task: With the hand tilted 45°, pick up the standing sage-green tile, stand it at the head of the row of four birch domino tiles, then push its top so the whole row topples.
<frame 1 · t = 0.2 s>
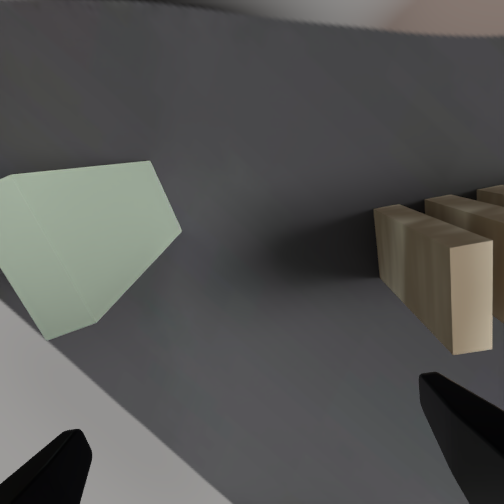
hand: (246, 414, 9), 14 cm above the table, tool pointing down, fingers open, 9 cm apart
head tile: (153, 202, 22), on the table
tile 1: (389, 242, 22), on the table
tile 2: (438, 233, 22), on the table
tile 3: (489, 224, 22), on the table
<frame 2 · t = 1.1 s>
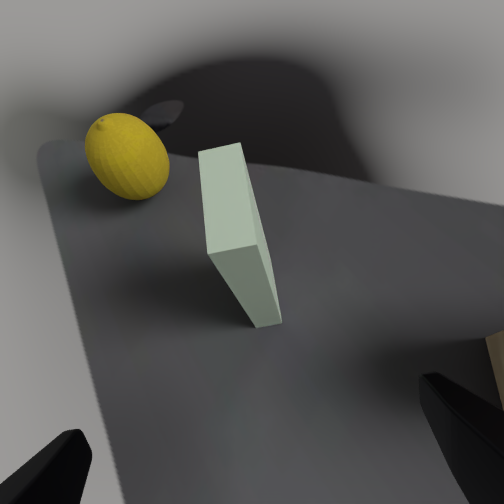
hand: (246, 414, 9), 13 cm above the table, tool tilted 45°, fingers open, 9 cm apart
head tile: (263, 292, 24), on the table
lemon: (153, 191, 30), on the table
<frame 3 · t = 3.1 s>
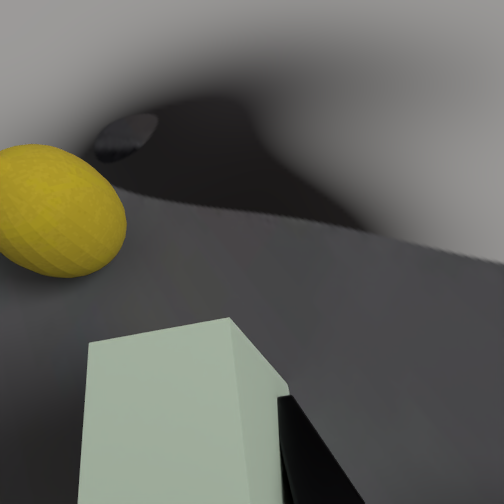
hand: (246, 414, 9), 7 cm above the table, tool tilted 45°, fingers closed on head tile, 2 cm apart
head tile: (277, 449, 14), on the table, touching gripper
lemon: (107, 252, 20), on the table
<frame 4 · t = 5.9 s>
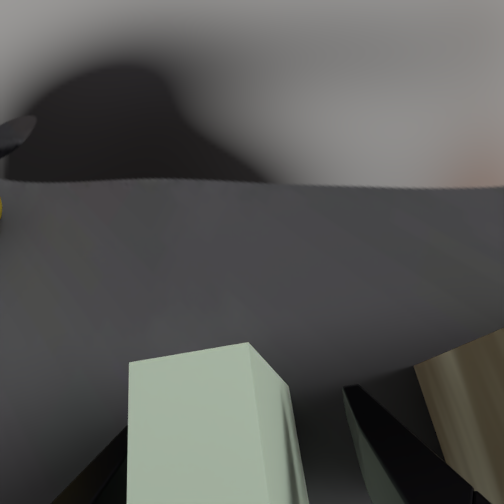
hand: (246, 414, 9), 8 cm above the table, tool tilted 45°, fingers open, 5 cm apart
head tile: (278, 447, 15), on the table
tile 1: (452, 420, 14), on the table
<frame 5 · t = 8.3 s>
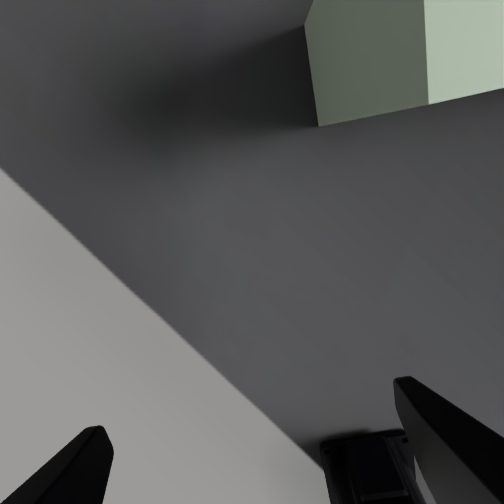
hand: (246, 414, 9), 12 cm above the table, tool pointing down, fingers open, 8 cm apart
head tile: (329, 73, 17), on the table
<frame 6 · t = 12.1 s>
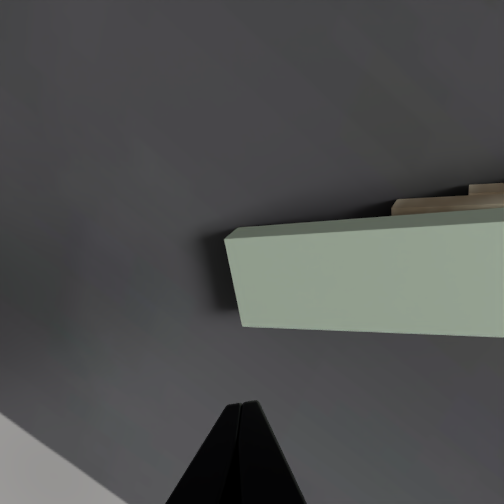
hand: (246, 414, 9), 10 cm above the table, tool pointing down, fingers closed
head tile: (240, 277, 17), point 1 cm above the table, tilted 71°, touching tile 1
tile 1: (396, 249, 17), point 1 cm above the table, tilted 60°, touching head tile
tile 2: (466, 236, 17), point 1 cm above the table, tilted 60°, touching tile 3
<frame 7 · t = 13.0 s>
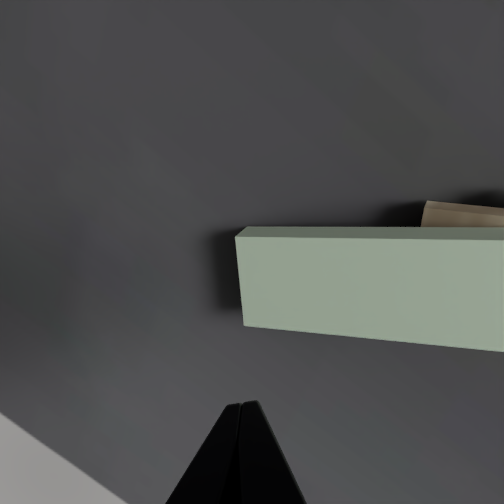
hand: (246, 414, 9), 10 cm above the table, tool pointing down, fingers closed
head tile: (245, 276, 17), point 1 cm above the table, tilted 73°, touching tile 1
tile 1: (416, 250, 17), point 1 cm above the table, tilted 61°, touching head tile
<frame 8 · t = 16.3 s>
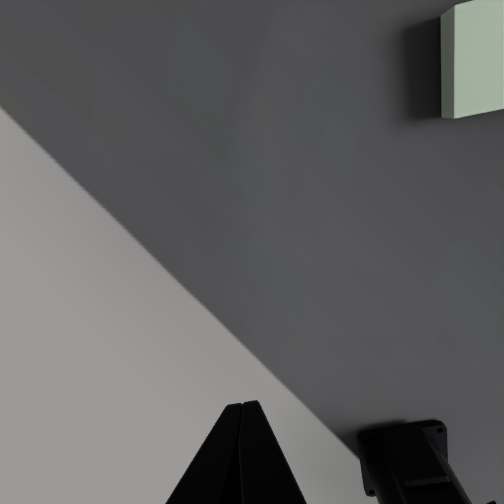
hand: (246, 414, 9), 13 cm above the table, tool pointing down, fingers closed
head tile: (447, 67, 17), point 1 cm above the table, tilted 81°, touching tile 1
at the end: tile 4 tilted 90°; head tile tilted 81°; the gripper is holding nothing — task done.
